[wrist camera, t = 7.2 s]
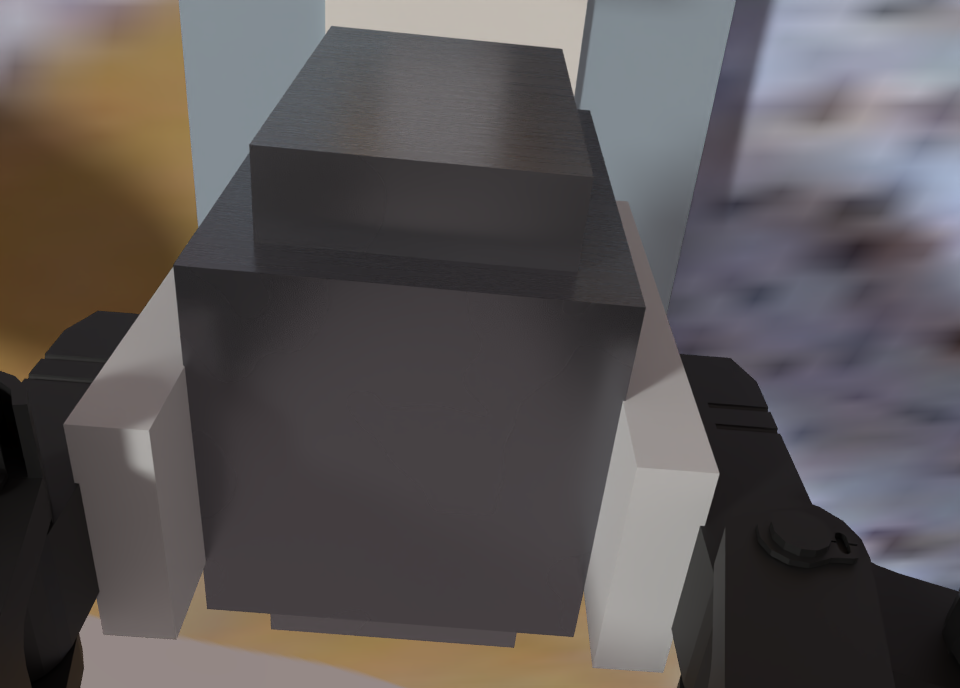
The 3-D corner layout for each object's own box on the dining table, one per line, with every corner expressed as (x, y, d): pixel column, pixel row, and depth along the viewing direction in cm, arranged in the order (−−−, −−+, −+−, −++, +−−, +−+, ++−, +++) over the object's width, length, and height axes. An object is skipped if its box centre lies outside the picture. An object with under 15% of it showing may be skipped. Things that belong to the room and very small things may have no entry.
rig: (159, -473, 16) (37, -572, 12) (807, -403, 17) (918, -474, 12) (227, 422, 27) (176, 542, 22) (625, 452, 27) (650, 576, 23)
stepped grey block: (542, 409, 16) (561, 690, 11) (301, 389, 16) (212, 663, 11) (601, 42, 13) (667, 209, 8) (295, 11, 13) (163, 161, 8)
